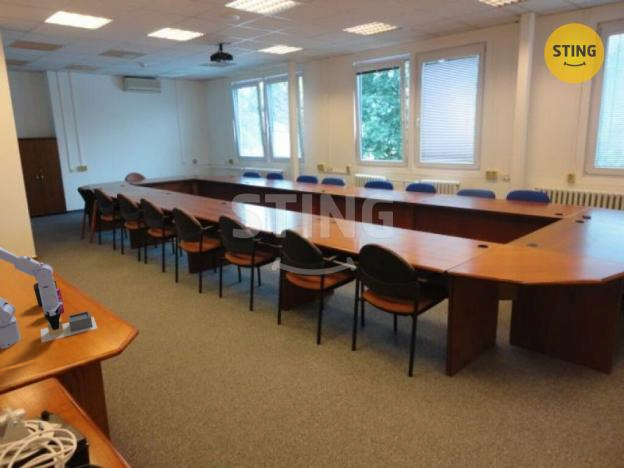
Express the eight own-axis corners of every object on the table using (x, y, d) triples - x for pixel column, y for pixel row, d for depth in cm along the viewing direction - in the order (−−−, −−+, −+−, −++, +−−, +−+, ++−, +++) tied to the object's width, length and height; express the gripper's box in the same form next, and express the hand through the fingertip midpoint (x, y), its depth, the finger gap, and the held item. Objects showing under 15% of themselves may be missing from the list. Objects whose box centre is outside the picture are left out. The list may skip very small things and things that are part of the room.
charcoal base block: (71, 332, 179) (69, 322, 177) (69, 324, 185) (67, 315, 184) (92, 326, 183) (90, 317, 182) (90, 319, 189) (88, 310, 188)
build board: (41, 344, 171) (41, 342, 171) (41, 331, 182) (40, 329, 182) (97, 330, 181) (97, 328, 181) (93, 318, 193) (93, 316, 192)
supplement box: (55, 317, 196) (50, 293, 193) (44, 316, 197) (39, 293, 194) (65, 311, 201) (60, 288, 198) (54, 311, 202) (49, 288, 200)
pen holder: (55, 297, 219) (51, 278, 217) (63, 301, 213) (59, 282, 211) (34, 304, 212) (30, 284, 210) (42, 308, 206) (37, 288, 204)
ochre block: (49, 335, 176) (47, 324, 175) (49, 331, 180) (46, 320, 179) (63, 332, 178) (61, 321, 177) (63, 327, 183) (60, 316, 181)
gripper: (61, 297, 171) (67, 329, 175) (59, 287, 183) (65, 317, 187) (40, 302, 168) (47, 334, 171) (39, 291, 180) (46, 321, 183)
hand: (55, 325), depth 179 cm, fingers open, 7 cm apart
